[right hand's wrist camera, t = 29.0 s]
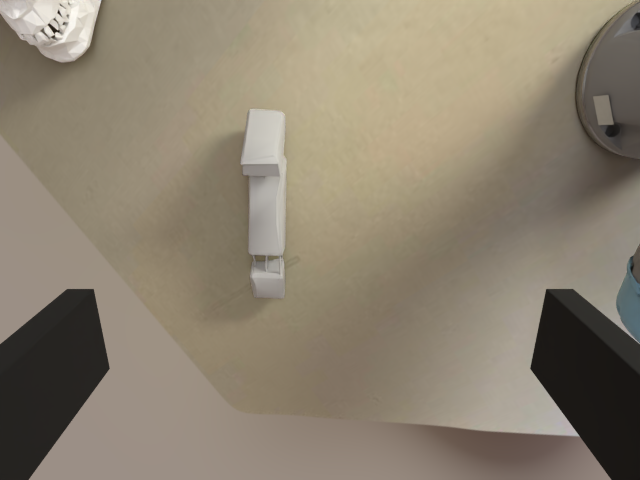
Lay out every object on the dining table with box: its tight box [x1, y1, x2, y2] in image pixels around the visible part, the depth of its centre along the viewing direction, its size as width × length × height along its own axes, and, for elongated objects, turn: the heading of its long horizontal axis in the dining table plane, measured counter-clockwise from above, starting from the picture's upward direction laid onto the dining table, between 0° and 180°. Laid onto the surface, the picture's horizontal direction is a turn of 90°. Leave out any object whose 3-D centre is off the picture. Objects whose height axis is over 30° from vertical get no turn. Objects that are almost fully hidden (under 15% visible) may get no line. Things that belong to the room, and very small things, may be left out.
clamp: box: [240, 108, 287, 298], centre depth 44 cm, size 20×4×7 cm, turn 179°
